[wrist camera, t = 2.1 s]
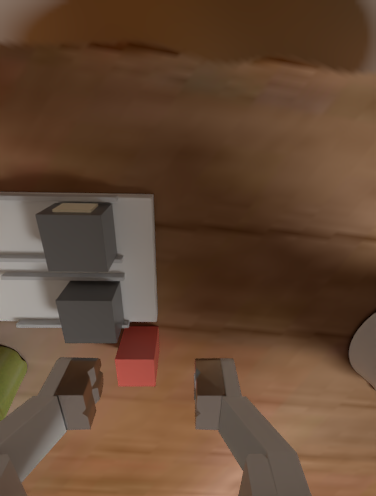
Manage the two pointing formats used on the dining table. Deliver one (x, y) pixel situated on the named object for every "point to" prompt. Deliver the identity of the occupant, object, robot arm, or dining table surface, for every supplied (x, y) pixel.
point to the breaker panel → (53, 282)
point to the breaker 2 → (91, 311)
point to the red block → (138, 356)
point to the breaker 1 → (78, 237)
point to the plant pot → (9, 377)
